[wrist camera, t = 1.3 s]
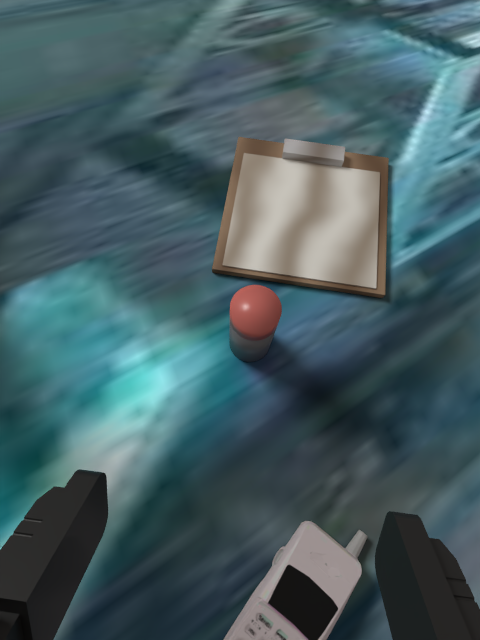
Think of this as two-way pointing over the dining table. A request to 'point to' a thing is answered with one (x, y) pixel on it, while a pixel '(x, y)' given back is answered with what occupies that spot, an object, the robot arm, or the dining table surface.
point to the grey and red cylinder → (253, 322)
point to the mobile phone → (302, 589)
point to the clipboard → (305, 217)
